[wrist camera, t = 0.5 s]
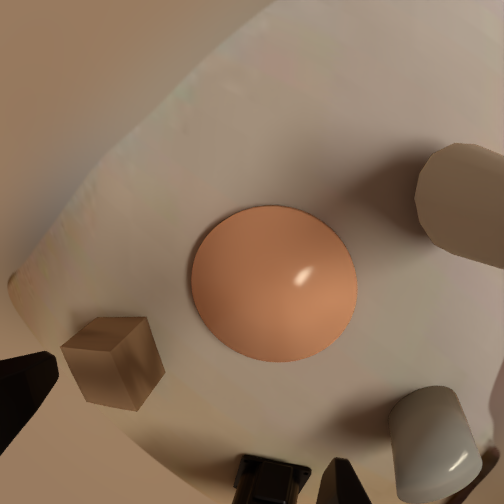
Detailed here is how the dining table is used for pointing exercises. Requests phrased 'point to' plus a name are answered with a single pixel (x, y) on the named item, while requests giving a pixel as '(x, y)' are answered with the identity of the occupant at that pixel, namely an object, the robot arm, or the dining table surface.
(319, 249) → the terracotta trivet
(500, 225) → the salt shaker
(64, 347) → the walnut block
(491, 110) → the dining table surface
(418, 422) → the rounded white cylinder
